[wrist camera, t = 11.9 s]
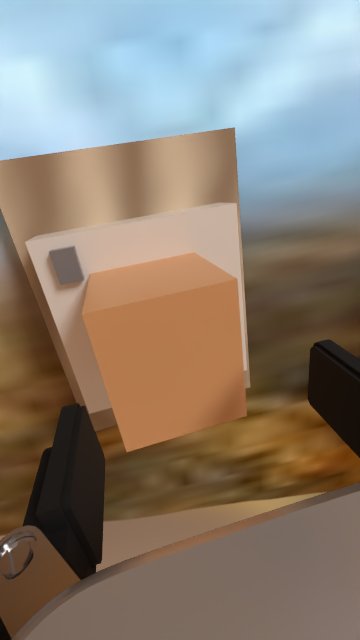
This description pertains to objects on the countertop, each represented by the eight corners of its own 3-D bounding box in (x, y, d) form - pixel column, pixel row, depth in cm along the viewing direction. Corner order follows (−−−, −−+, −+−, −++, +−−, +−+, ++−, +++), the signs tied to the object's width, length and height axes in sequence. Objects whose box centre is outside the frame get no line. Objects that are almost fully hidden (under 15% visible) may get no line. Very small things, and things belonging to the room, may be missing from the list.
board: (223, 133, 21) (234, 127, 19) (241, 375, 30) (250, 387, 29) (-6, 166, 19) (-18, 163, 17) (89, 418, 28) (88, 433, 26)
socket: (219, 202, 21) (240, 203, 18) (232, 352, 26) (250, 374, 23) (36, 235, 19) (22, 243, 16) (91, 390, 25) (88, 419, 21)
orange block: (186, 247, 21) (237, 279, 13) (199, 342, 24) (246, 415, 16) (91, 266, 20) (81, 314, 12) (119, 363, 23) (126, 452, 15)
